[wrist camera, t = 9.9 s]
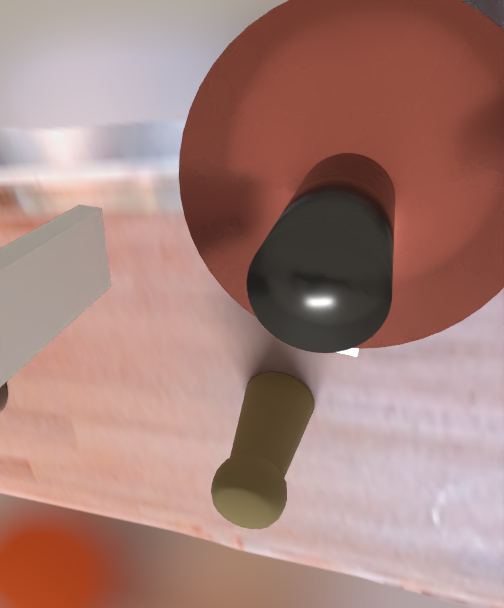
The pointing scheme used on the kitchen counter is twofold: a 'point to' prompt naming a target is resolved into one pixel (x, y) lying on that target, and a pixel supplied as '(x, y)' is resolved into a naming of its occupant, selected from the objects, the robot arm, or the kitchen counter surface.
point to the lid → (352, 170)
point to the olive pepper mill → (262, 450)
